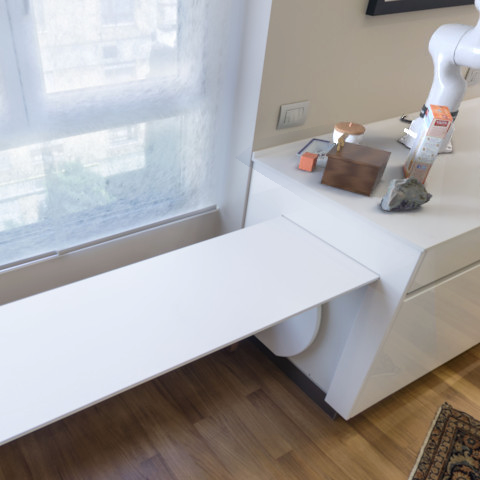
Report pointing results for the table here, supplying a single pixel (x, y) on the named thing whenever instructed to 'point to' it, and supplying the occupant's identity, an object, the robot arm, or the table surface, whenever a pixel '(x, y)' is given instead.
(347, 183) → the chest
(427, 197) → the mineral rock
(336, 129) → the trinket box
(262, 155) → the table surface
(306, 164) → the block
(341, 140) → the lid
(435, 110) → the cracker box
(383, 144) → the table surface
